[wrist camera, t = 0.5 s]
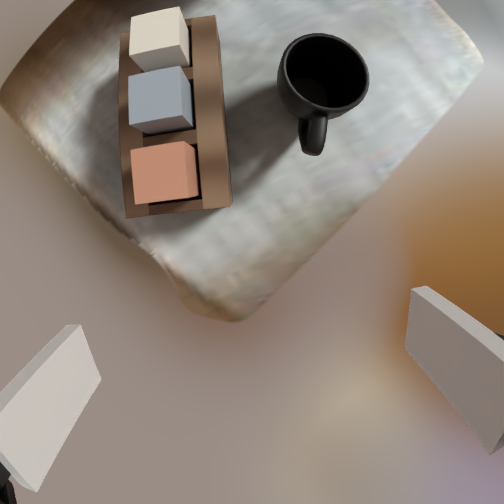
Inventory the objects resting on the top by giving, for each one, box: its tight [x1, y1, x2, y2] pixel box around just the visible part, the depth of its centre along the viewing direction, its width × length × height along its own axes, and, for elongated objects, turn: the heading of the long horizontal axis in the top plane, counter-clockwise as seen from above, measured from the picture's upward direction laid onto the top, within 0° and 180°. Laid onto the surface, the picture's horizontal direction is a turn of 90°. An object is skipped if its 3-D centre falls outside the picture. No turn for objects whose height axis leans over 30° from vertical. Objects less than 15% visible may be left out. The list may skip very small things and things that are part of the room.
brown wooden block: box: [118, 15, 233, 218], centre depth 28 cm, size 20×10×7 cm, turn 5°
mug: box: [277, 33, 369, 156], centre depth 27 cm, size 8×12×10 cm
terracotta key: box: [130, 141, 201, 205], centre depth 25 cm, size 4×4×7 cm
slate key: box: [128, 66, 196, 136], centre depth 24 cm, size 4×4×7 cm
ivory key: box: [129, 7, 192, 72], centre depth 22 cm, size 4×4×7 cm
